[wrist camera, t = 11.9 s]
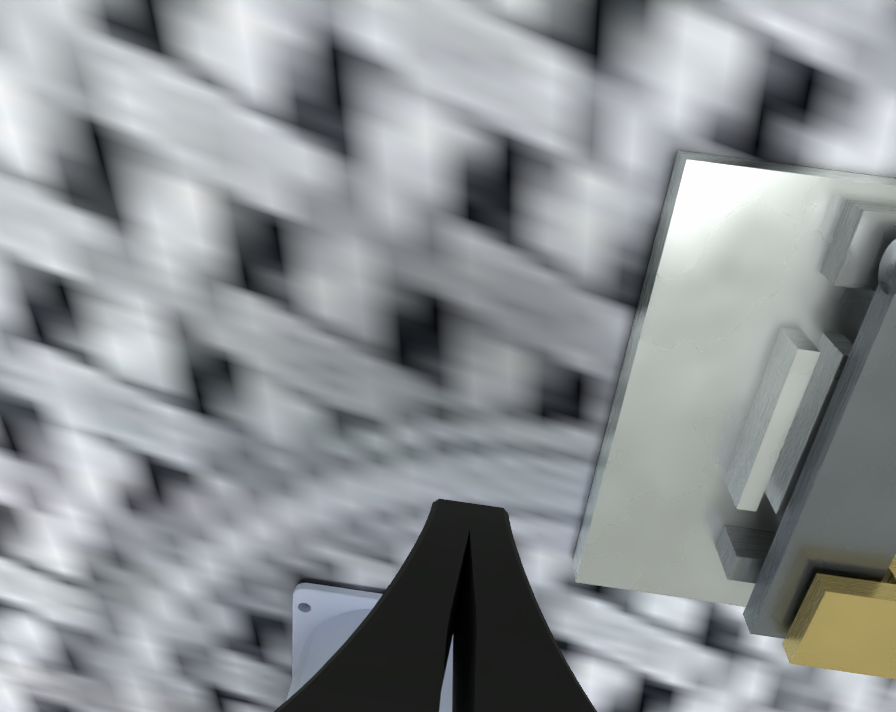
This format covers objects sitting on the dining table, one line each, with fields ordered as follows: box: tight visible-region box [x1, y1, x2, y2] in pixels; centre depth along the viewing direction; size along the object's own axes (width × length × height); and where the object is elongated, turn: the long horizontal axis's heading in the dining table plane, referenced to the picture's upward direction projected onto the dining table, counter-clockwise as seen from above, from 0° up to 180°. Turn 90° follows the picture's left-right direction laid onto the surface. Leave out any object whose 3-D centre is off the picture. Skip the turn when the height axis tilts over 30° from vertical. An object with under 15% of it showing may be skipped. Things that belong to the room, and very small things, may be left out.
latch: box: [782, 554, 896, 679], centre depth 22 cm, size 3×5×4 cm, turn 84°
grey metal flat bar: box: [743, 239, 896, 639], centre depth 19 cm, size 13×3×1 cm, turn 174°
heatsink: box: [573, 151, 896, 607], centre depth 21 cm, size 15×15×3 cm
